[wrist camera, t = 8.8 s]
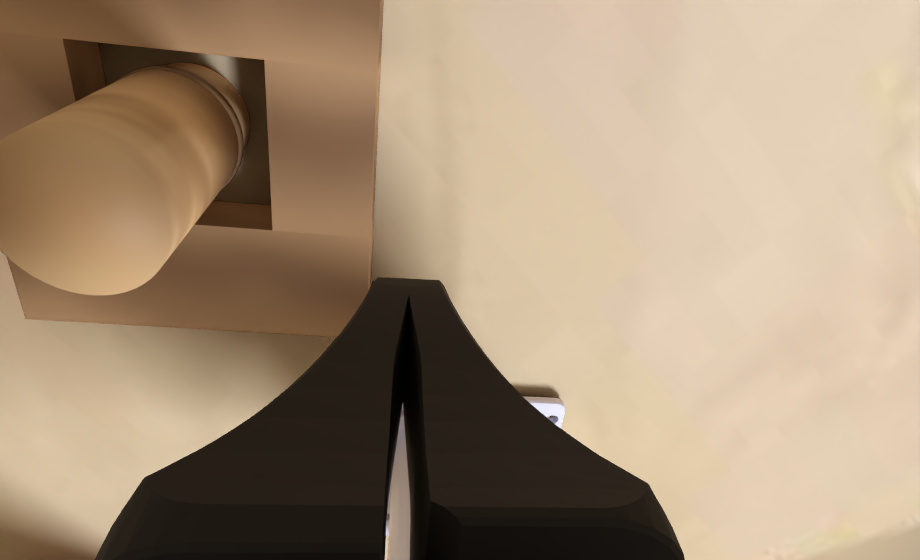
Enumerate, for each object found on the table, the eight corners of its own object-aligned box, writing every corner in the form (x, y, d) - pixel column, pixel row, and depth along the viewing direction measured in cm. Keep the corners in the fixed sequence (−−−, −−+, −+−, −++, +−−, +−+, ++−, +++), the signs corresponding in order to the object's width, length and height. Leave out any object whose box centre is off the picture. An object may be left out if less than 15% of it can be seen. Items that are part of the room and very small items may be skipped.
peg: (260, 181, 21) (183, 302, 14) (139, 171, 21) (-1, 291, 14) (253, 61, 19) (159, 136, 12) (119, 47, 19) (-56, 116, 12)
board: (369, 309, 24) (365, 338, 23) (55, 289, 23) (25, 319, 21) (387, -95, 17) (384, -98, 16) (-64, -157, 16) (-123, -167, 14)
